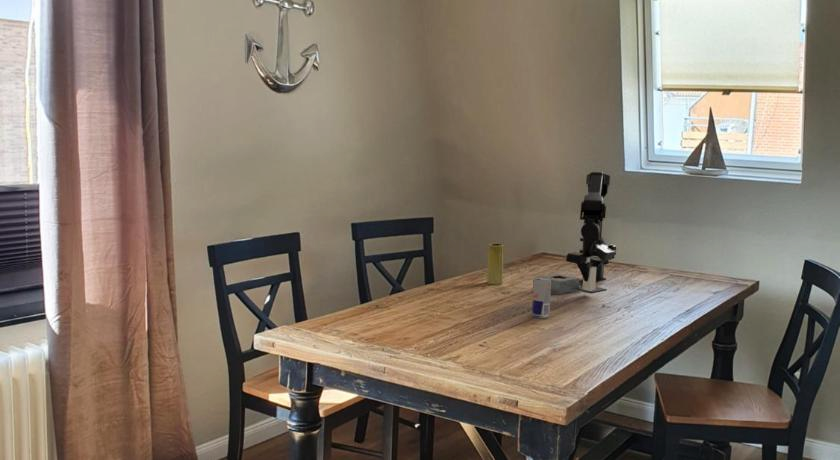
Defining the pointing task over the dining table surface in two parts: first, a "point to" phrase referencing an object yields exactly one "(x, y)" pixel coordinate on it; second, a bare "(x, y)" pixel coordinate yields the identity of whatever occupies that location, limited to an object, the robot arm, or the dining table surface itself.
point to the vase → (495, 264)
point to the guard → (563, 283)
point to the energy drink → (541, 297)
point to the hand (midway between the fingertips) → (589, 280)
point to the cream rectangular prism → (590, 280)
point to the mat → (597, 289)
